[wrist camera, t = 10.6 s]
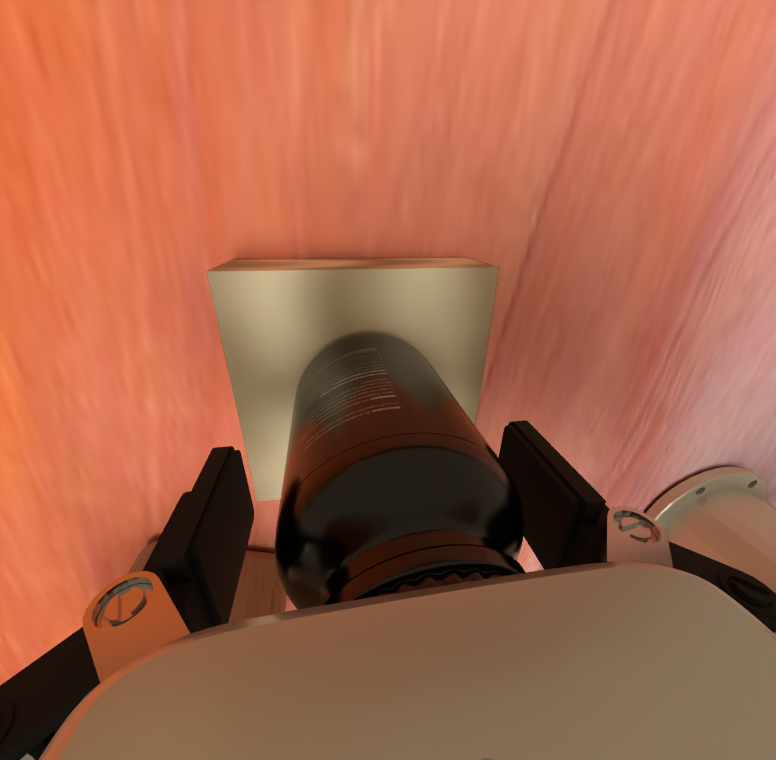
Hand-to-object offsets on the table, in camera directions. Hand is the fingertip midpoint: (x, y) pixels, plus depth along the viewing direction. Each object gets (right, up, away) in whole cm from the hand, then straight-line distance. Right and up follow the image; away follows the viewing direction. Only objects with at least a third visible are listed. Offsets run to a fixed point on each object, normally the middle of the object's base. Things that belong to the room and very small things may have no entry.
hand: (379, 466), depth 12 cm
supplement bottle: (-1, +2, +5) cm, 5 cm away
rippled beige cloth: (-1, +4, +8) cm, 9 cm away
